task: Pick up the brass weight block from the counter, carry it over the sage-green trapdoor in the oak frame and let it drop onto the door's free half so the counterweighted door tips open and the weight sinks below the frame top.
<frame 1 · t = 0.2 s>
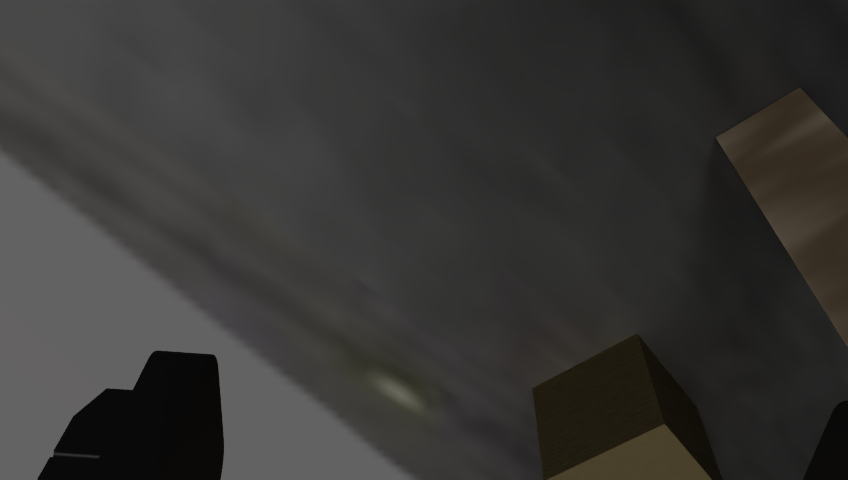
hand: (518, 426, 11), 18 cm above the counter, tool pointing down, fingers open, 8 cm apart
brass weight: (614, 396, 34), on the counter
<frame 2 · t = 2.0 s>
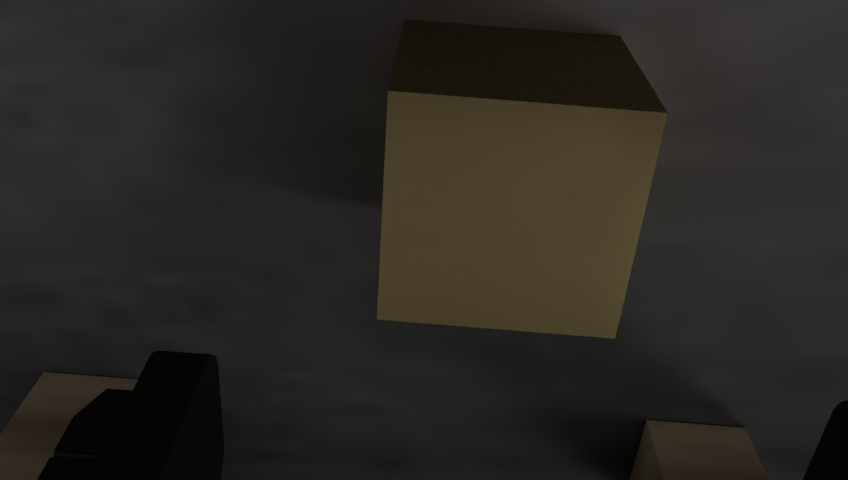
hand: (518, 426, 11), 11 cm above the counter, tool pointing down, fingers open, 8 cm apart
brass weight: (499, 127, 20), on the counter
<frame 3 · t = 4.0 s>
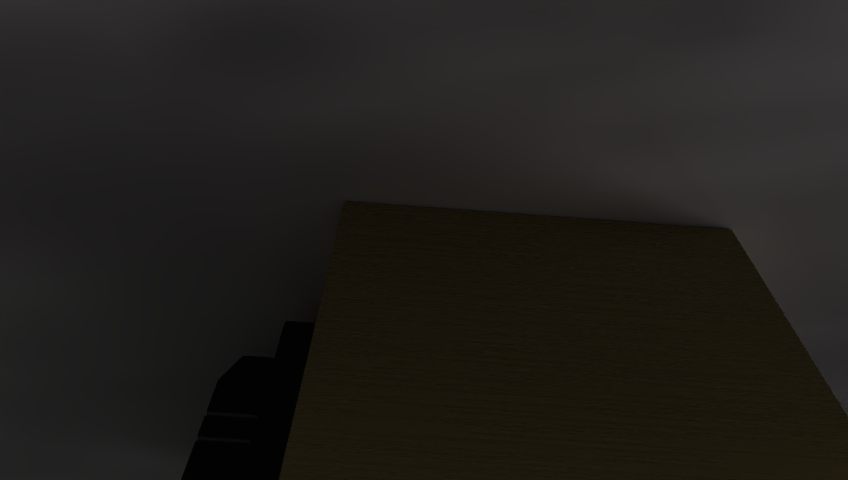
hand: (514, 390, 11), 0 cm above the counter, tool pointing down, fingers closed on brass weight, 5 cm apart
brass weight: (514, 367, 12), on the counter, touching gripper
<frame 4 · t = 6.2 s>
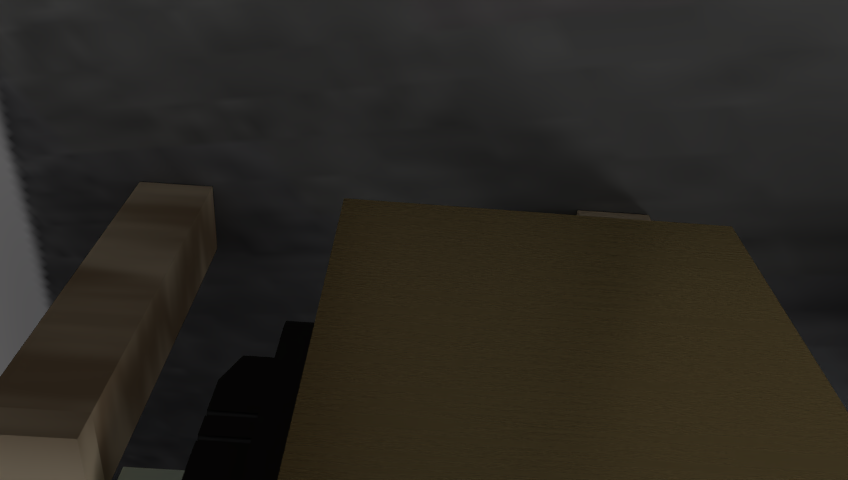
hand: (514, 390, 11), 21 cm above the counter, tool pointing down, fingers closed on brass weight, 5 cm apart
brass weight: (514, 364, 12), point 21 cm above the counter, touching gripper
trapdoor frame: (383, 429, 40), on the counter
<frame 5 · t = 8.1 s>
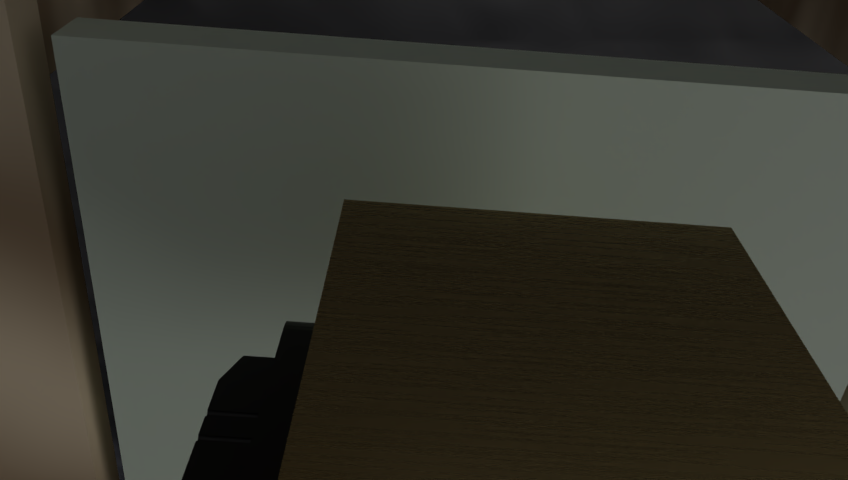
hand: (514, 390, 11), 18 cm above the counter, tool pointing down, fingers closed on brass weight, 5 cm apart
brass weight: (513, 365, 12), point 17 cm above the counter, touching gripper
trapdoor: (455, 460, 19), point 13 cm above the counter, hinge at 0.0°
trapdoor frame: (447, 227, 30), on the counter
when the fingers open (18 cm above the counter, at t = 8.5 s): brass weight drops 15 cm and tips over, point 2 cm above the counter.
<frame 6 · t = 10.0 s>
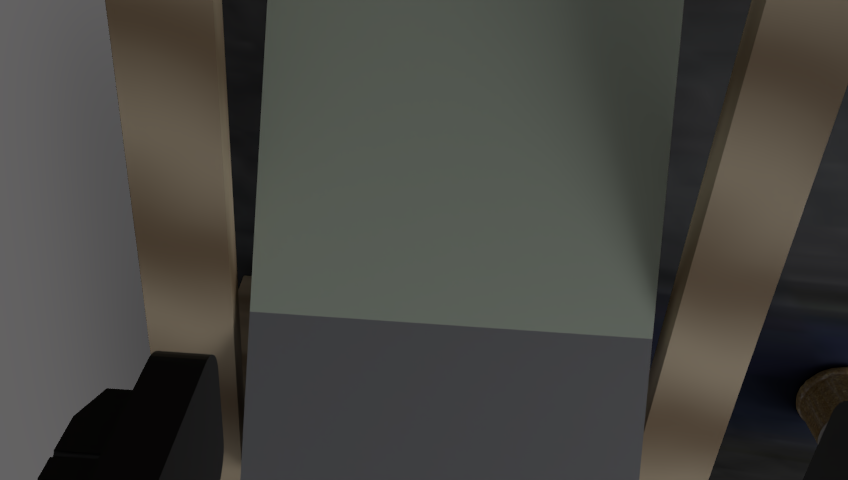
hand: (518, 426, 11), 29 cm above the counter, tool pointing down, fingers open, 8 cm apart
sprinkles bottle: (830, 391, 48), on the counter
trapdoor: (455, 235, 29), point 12 cm above the counter, hinge at -26.2°
trapdoor frame: (451, 119, 39), on the counter
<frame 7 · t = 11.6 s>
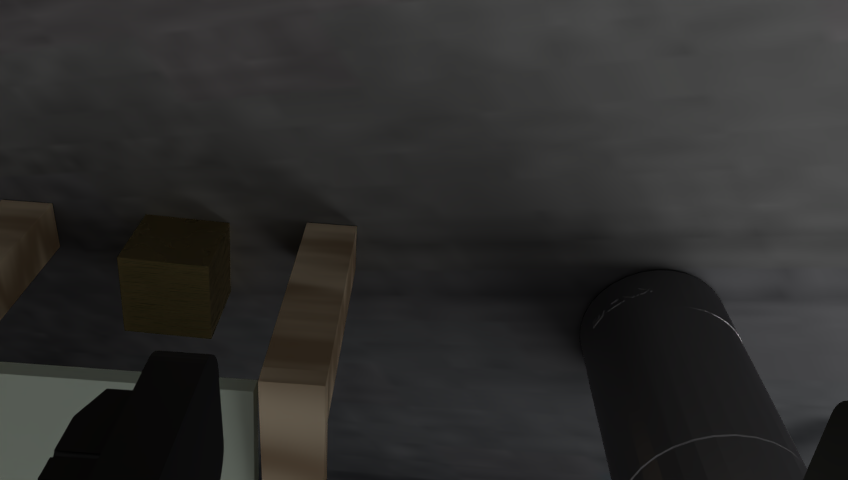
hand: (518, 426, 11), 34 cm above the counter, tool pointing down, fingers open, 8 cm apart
brass weight: (180, 309, 49), point 2 cm above the counter, tilted 90°
trapdoor frame: (195, 380, 55), on the counter
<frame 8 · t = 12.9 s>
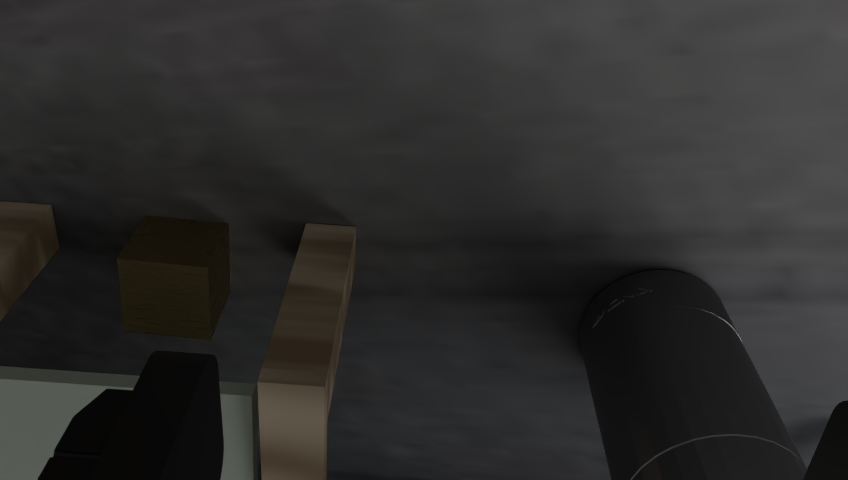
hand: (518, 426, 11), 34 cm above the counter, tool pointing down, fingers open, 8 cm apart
brass weight: (179, 310, 49), point 2 cm above the counter, tilted 90°
trapdoor frame: (195, 381, 55), on the counter
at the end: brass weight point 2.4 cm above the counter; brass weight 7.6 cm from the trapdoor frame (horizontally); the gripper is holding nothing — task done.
